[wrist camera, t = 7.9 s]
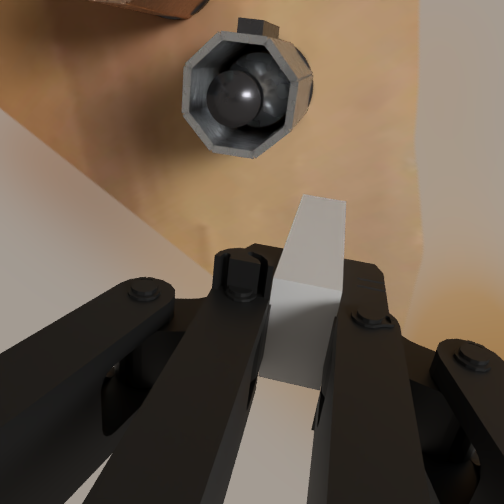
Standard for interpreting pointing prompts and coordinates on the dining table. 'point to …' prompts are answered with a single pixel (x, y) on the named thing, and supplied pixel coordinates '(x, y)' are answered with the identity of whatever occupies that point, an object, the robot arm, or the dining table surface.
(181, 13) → the copper press
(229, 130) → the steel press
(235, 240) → the dining table surface
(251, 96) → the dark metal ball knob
